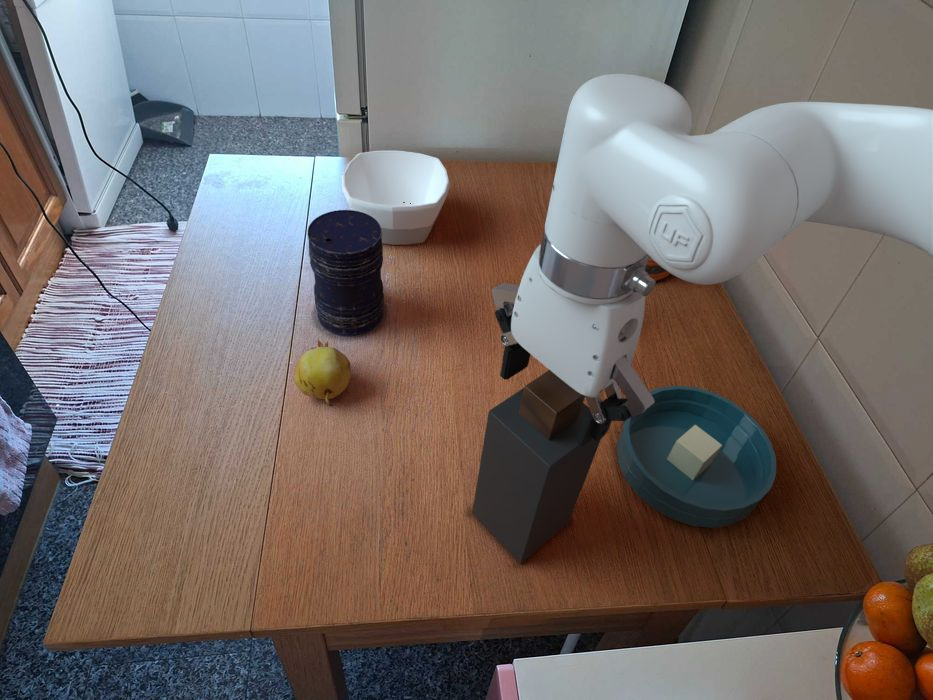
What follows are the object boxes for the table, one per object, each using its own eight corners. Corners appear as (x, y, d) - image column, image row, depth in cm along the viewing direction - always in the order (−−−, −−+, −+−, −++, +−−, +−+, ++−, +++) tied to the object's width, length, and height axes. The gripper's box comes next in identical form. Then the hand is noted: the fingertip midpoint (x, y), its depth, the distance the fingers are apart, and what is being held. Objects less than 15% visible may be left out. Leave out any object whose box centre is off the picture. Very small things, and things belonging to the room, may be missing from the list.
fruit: (357, 386, 79) (352, 328, 85) (300, 382, 76) (298, 323, 83) (346, 420, 83) (342, 363, 90) (291, 418, 81) (291, 359, 87)
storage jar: (352, 283, 101) (347, 200, 90) (398, 313, 97) (398, 231, 86) (302, 314, 95) (290, 230, 84) (348, 347, 91) (342, 264, 80)
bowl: (447, 199, 119) (450, 152, 112) (446, 259, 106) (450, 211, 100) (350, 193, 118) (347, 146, 111) (338, 253, 105) (334, 204, 99)
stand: (569, 522, 74) (607, 422, 61) (520, 564, 70) (549, 467, 57) (520, 476, 78) (546, 372, 65) (471, 513, 74) (488, 410, 61)
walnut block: (578, 419, 61) (586, 392, 58) (549, 440, 59) (556, 413, 56) (547, 393, 63) (554, 365, 60) (518, 413, 61) (524, 386, 58)
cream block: (711, 463, 81) (722, 445, 78) (692, 480, 79) (704, 462, 76) (685, 443, 83) (695, 424, 80) (666, 459, 81) (676, 440, 78)
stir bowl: (788, 473, 82) (804, 452, 78) (707, 559, 73) (722, 540, 69) (671, 386, 91) (681, 365, 87) (586, 454, 81) (594, 432, 78)
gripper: (719, 299, 45) (649, 443, 57) (541, 185, 53) (514, 332, 66) (654, 346, 41) (594, 489, 53) (474, 216, 49) (458, 366, 62)
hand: (550, 403), depth 59 cm, fingers open, 9 cm apart
